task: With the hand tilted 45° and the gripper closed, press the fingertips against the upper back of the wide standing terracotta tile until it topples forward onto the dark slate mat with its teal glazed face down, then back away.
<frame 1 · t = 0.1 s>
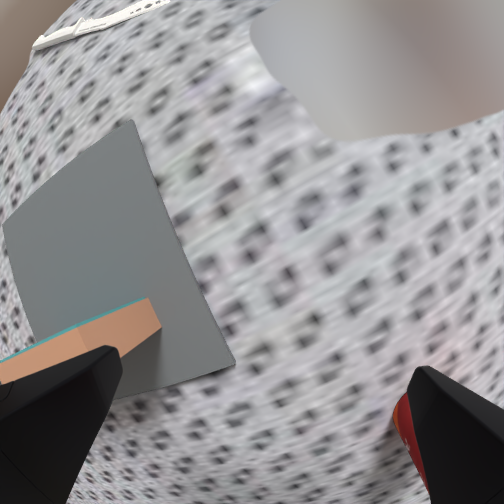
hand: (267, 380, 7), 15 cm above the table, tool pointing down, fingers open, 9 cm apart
knife: (113, 14, 24), on the table
coffee cup: (417, 405, 22), on the table
mat: (84, 282, 24), on the table
tile: (109, 347, 23), point 1 cm above the table, touching mat
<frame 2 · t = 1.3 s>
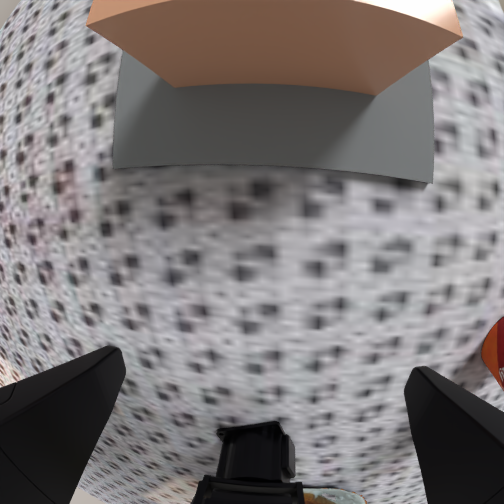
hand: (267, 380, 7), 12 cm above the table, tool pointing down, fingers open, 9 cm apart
coffee cup: (499, 338, 19), on the table
mat: (276, 8, 14), on the table
tile: (275, 84, 15), point 1 cm above the table, touching mat
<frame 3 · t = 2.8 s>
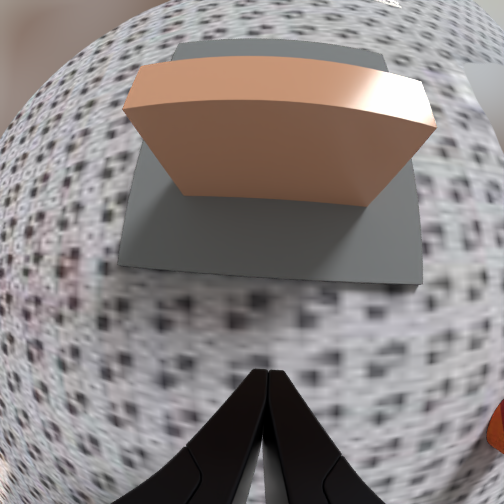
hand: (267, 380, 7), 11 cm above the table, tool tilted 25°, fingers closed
mat: (279, 126, 21), on the table
tile: (276, 199, 19), point 1 cm above the table, touching mat
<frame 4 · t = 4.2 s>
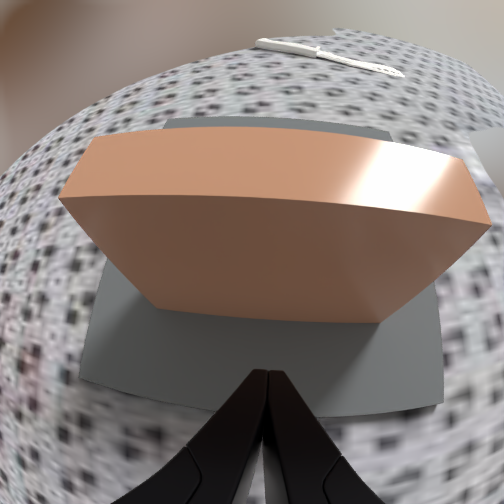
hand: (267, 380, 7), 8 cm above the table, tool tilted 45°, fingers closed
knife: (348, 61, 35), on the table
mat: (274, 224, 19), on the table
tile: (269, 319, 15), point 1 cm above the table, touching mat
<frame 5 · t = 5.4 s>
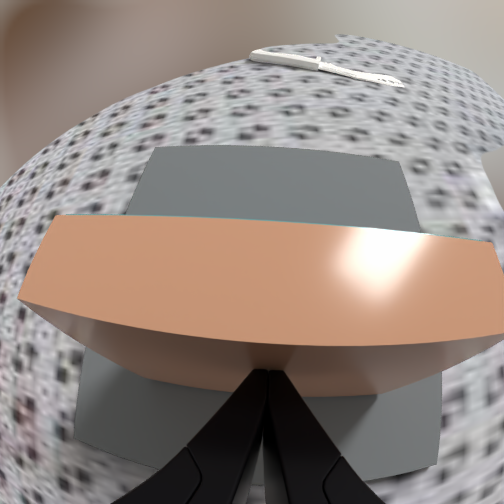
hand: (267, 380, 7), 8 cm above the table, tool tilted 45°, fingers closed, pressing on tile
knife: (351, 73, 34), on the table
mat: (271, 283, 17), on the table
tile: (263, 395, 13), point 1 cm above the table, touching gripper, mat
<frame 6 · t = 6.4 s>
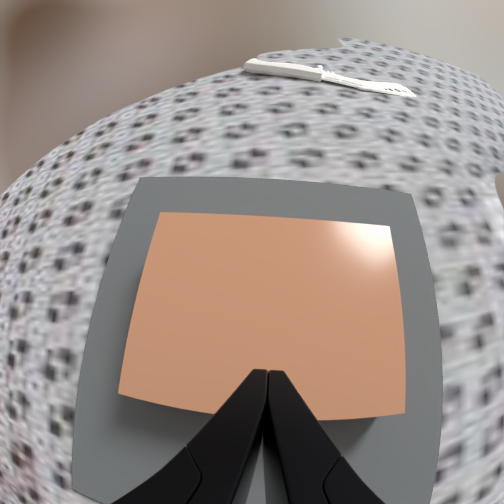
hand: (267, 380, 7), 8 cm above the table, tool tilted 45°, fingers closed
knife: (354, 82, 32), on the table
mat: (266, 348, 15), on the table
tile: (261, 418, 10), point 4 cm above the table, tilted 90°, touching mat
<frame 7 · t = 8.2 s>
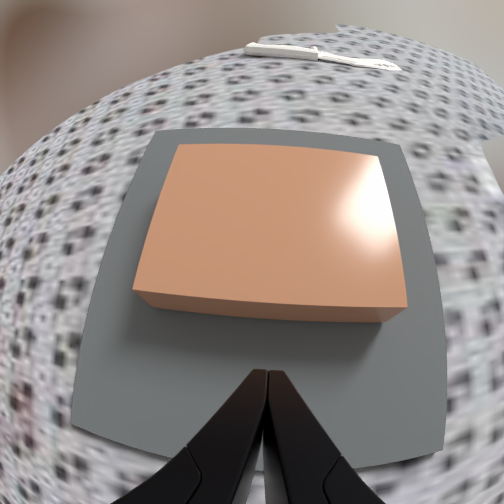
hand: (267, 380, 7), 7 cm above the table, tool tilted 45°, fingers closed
knife: (346, 60, 33), on the table
mat: (272, 261, 17), on the table
tile: (271, 302, 12), point 4 cm above the table, tilted 90°, touching mat
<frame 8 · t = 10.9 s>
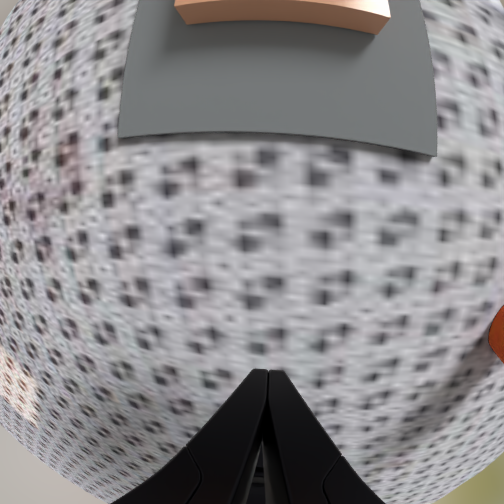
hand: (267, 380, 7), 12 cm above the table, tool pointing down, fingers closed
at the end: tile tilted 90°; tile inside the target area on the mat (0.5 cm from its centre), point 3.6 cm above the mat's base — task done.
